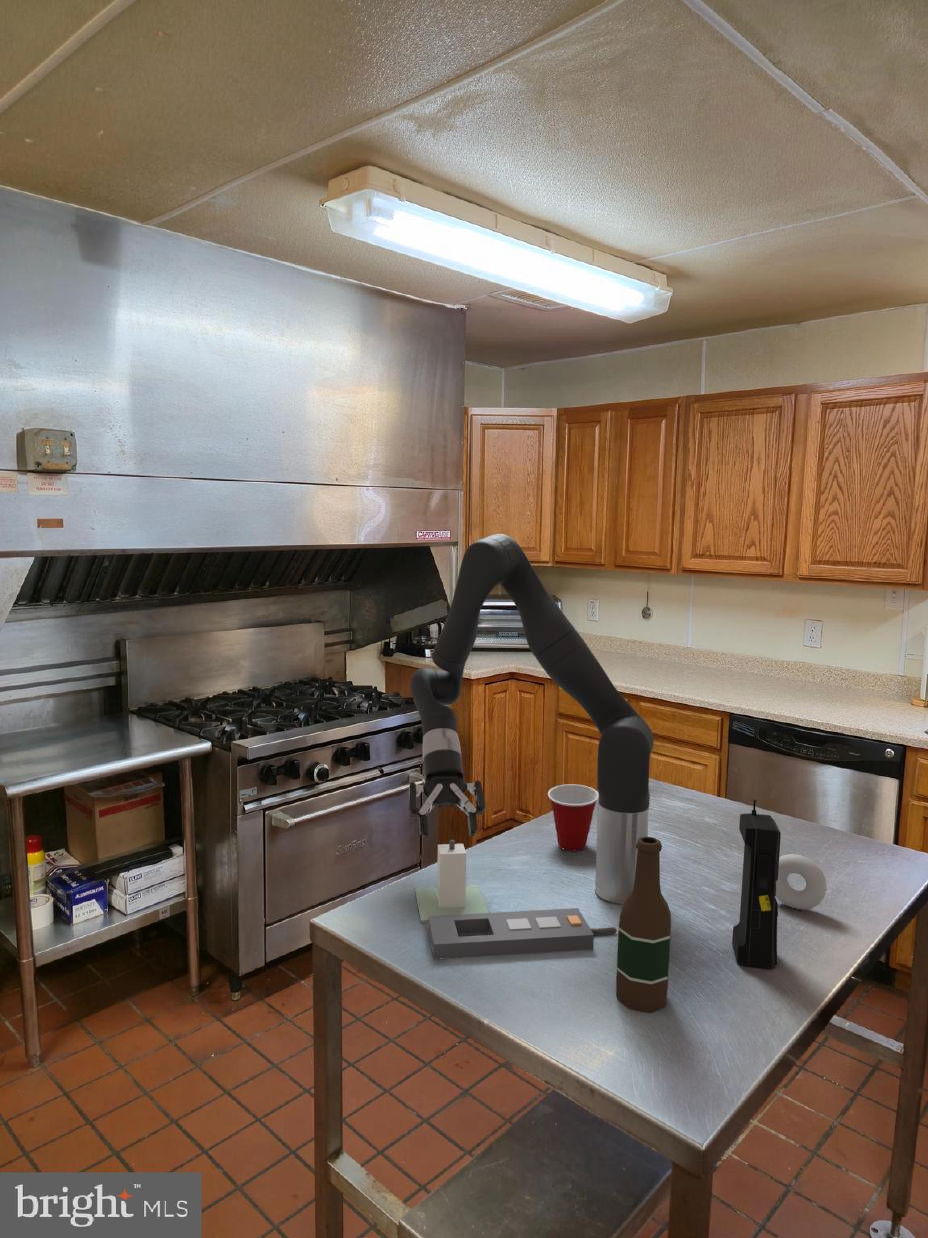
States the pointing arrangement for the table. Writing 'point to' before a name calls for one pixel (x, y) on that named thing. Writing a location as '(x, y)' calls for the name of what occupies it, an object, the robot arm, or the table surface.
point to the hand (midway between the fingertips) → (449, 836)
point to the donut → (812, 876)
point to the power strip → (511, 933)
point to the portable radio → (758, 892)
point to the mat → (431, 908)
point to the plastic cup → (573, 814)
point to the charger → (451, 875)
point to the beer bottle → (644, 935)
